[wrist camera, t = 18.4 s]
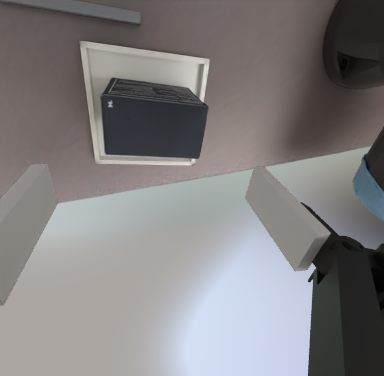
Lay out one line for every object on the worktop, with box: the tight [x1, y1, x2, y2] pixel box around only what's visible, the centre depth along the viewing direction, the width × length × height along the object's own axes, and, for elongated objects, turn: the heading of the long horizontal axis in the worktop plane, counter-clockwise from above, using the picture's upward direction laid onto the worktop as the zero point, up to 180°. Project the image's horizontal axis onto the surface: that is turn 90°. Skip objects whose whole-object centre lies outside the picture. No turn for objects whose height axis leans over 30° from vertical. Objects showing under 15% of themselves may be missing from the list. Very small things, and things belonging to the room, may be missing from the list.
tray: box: [80, 41, 210, 165], centre depth 30 cm, size 15×15×2 cm
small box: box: [100, 78, 208, 159], centre depth 26 cm, size 11×6×10 cm, turn 82°
